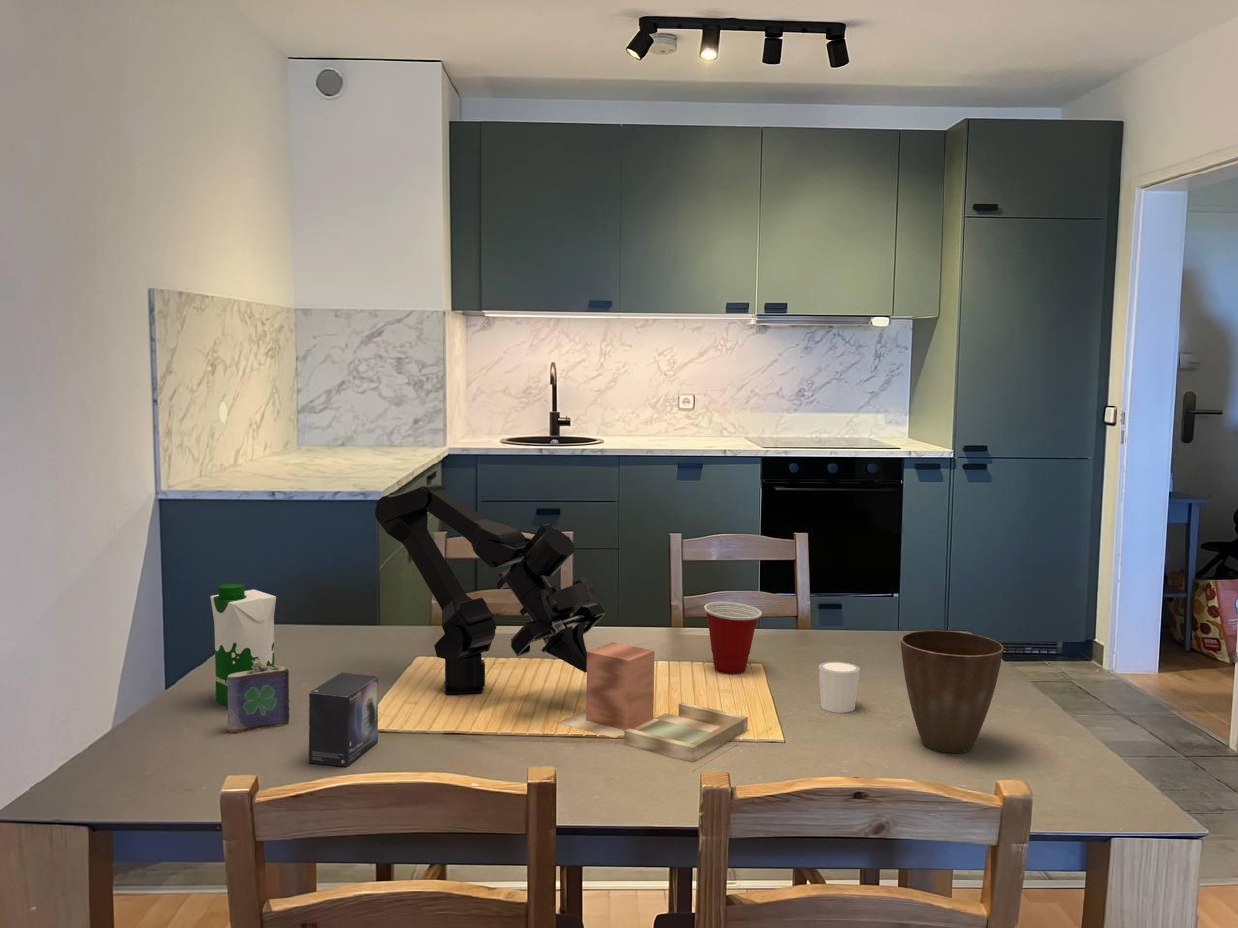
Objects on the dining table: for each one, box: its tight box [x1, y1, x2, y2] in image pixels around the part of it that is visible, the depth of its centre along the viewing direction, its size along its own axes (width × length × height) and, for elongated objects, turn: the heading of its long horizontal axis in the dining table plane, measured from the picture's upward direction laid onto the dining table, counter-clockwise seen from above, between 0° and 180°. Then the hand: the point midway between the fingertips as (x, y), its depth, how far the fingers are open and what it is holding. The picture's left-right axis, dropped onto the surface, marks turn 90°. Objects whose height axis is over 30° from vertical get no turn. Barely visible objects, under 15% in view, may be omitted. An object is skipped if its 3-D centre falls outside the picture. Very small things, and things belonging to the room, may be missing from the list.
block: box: [585, 642, 656, 730], centre depth 167 cm, size 8×7×11 cm
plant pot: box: [900, 630, 1005, 754], centre depth 162 cm, size 15×15×16 cm
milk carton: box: [209, 582, 277, 708], centre depth 177 cm, size 9×9×20 cm
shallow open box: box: [556, 701, 749, 772], centre depth 164 cm, size 25×16×4 cm, turn 55°
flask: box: [227, 658, 290, 734], centre depth 166 cm, size 9×3×11 cm, turn 121°
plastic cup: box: [703, 601, 763, 675], centre depth 199 cm, size 11×11×12 cm
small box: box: [307, 672, 379, 767], centre depth 155 cm, size 11×6×10 cm, turn 168°
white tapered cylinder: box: [818, 661, 861, 714], centre depth 179 cm, size 7×7×7 cm
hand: (588, 670), depth 170 cm, fingers closed
